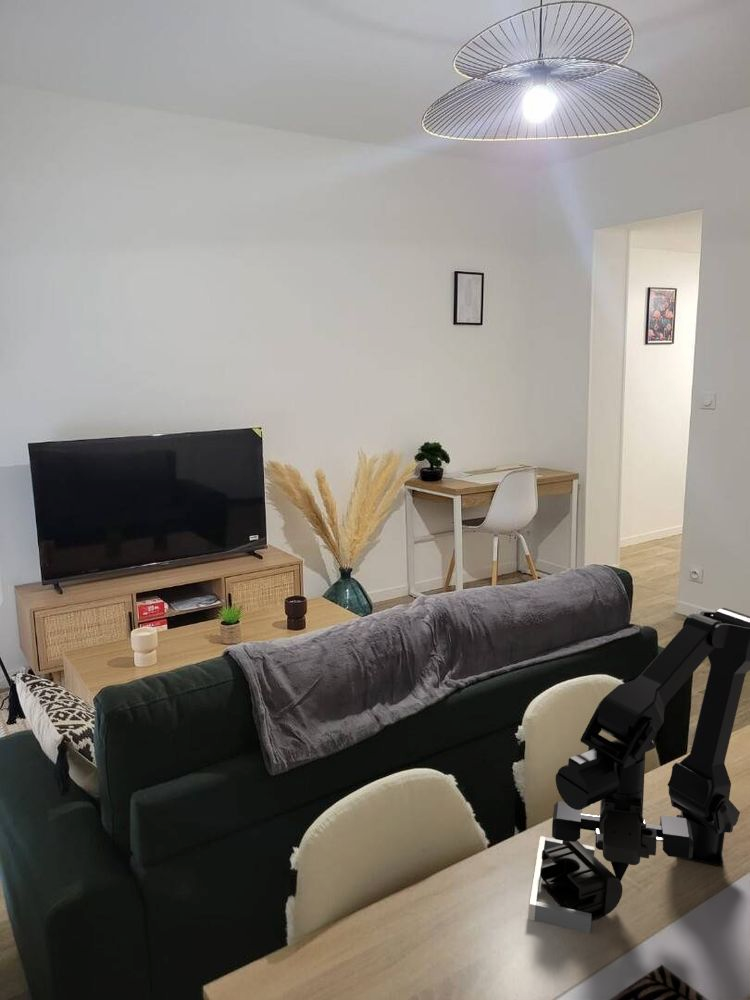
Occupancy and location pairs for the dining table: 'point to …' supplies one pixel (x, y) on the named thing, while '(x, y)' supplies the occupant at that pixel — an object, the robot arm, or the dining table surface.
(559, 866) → the end cap
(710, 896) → the dining table surface
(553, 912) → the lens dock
